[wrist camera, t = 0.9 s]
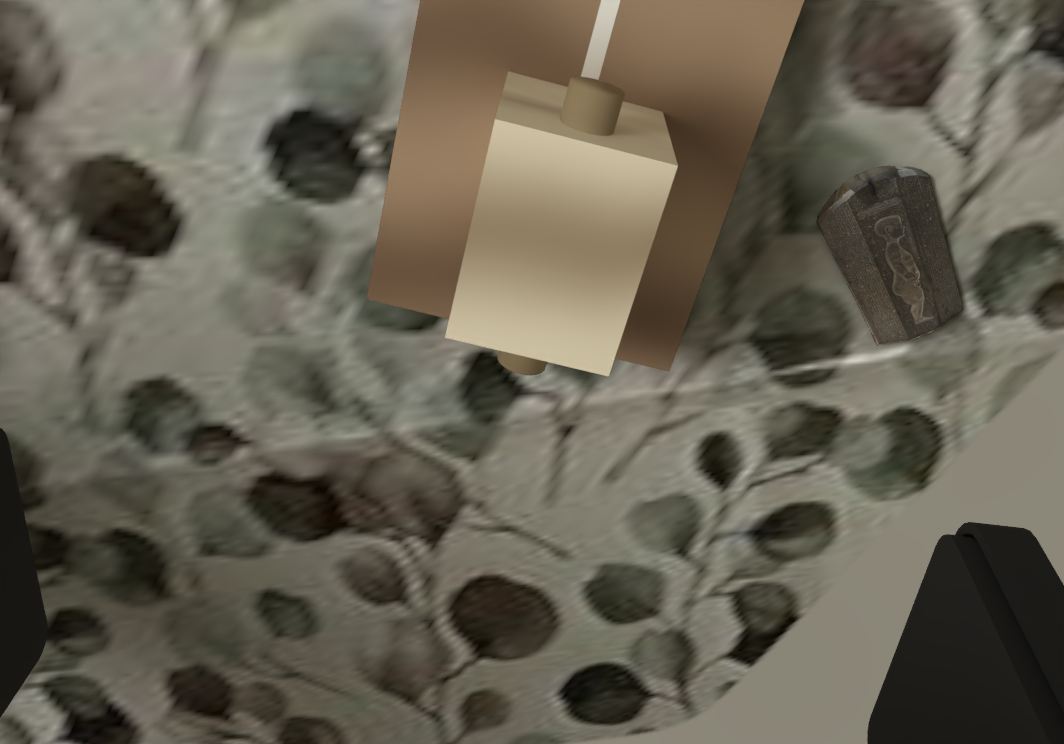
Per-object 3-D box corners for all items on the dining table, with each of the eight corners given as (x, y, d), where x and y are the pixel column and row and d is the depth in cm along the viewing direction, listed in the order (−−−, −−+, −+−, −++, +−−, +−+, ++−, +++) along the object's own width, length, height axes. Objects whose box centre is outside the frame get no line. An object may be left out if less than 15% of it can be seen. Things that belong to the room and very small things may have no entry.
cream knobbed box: (595, 325, 31) (598, 407, 27) (457, 291, 31) (437, 369, 27) (673, 76, 28) (691, 125, 23) (516, 35, 27) (504, 77, 23)
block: (866, 328, 35) (874, 357, 33) (801, 188, 32) (807, 213, 30) (972, 289, 33) (985, 317, 32) (913, 139, 31) (925, 163, 29)
